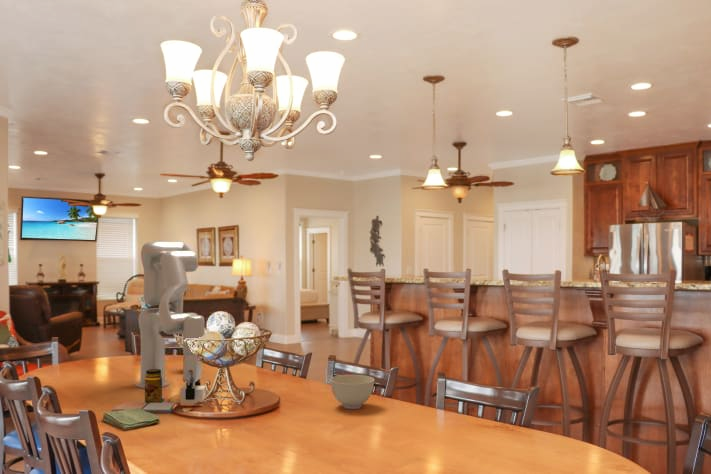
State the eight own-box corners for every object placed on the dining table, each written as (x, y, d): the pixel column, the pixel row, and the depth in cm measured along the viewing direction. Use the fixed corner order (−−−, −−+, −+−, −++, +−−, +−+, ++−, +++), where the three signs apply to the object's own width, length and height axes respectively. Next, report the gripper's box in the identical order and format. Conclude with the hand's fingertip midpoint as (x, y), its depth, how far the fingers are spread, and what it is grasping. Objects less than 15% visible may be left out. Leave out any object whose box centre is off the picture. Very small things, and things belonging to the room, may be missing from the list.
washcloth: (124, 433, 199) (124, 422, 199) (99, 421, 211) (99, 411, 211) (163, 424, 209) (163, 414, 209) (137, 414, 221) (137, 405, 221)
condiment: (143, 405, 231) (143, 372, 231) (143, 400, 239) (144, 367, 239) (164, 404, 233) (164, 371, 233) (164, 398, 241) (164, 366, 241)
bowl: (369, 413, 222) (370, 385, 222) (325, 411, 226) (325, 382, 226) (377, 402, 238) (377, 375, 238) (335, 400, 241) (336, 373, 241)
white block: (183, 401, 237) (184, 385, 237) (205, 401, 237) (205, 385, 237) (180, 406, 231) (180, 389, 231) (202, 406, 231) (202, 389, 231)
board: (121, 406, 230) (121, 402, 230) (177, 406, 231) (177, 402, 231) (111, 413, 220) (111, 409, 220) (170, 413, 221) (170, 409, 221)
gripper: (188, 345, 242) (188, 390, 242) (177, 353, 225) (176, 402, 225) (208, 345, 243) (208, 390, 243) (199, 353, 225) (198, 402, 225)
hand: (193, 396), depth 234 cm, fingers open, 9 cm apart
